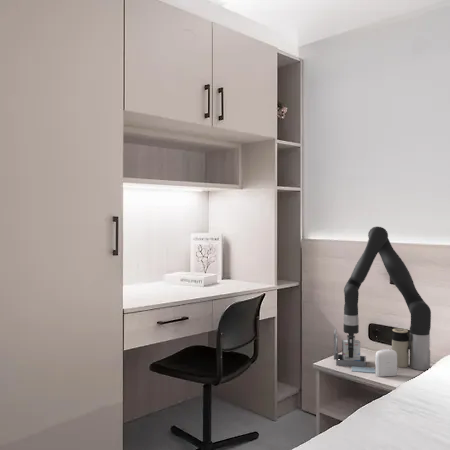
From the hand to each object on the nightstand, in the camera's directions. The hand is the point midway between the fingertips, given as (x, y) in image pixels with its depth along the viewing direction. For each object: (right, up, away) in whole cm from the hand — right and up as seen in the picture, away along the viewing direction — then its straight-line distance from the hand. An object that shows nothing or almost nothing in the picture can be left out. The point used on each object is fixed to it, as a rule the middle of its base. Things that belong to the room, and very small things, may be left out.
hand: (351, 355), depth 245 cm
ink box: (0, -4, 0) cm, 4 cm away
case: (0, -4, 0) cm, 4 cm away
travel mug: (+24, -4, -4) cm, 25 cm away
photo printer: (+12, -5, -18) cm, 22 cm away
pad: (+3, -4, -10) cm, 12 cm away
